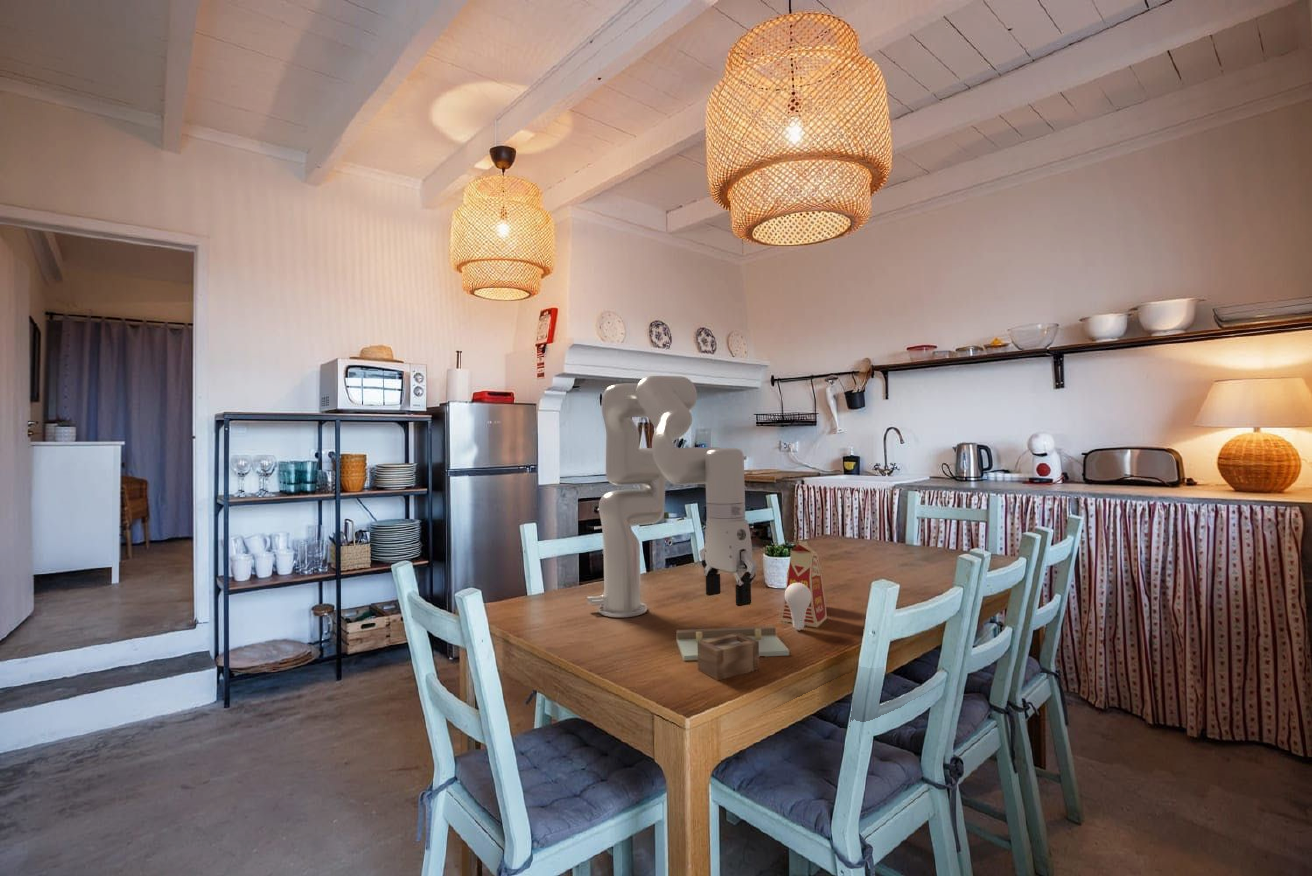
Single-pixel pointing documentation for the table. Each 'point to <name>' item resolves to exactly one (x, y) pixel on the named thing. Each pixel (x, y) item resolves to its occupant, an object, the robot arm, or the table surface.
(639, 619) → the table surface
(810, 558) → the milk carton
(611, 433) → the robot arm
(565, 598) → the table surface
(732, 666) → the wooden box
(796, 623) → the lightbulb
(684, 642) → the board
